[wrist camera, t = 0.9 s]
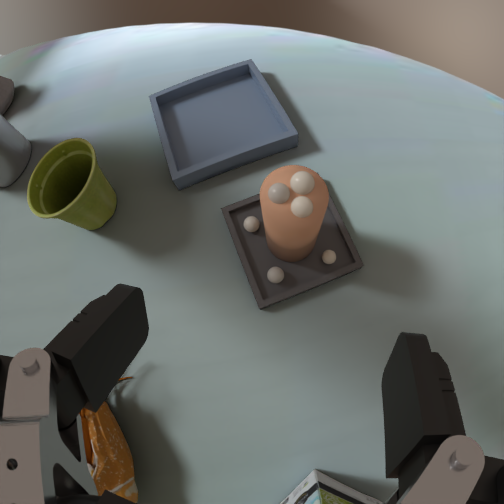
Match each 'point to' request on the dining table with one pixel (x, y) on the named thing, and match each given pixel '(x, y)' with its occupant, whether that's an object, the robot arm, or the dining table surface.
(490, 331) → the dining table surface
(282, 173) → the tan rounded pillar
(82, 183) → the plant pot
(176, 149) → the shallow square tray
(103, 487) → the nautilus
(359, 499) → the tea box
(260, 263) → the parts tray
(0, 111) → the coffee pot
